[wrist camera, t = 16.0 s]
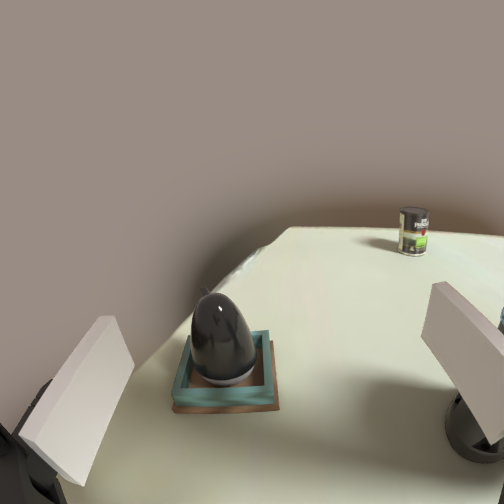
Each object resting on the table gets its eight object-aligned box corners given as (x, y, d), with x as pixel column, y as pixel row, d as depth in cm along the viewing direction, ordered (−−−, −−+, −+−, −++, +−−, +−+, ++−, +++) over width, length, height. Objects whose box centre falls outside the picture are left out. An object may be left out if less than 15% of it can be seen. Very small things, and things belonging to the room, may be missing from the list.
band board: (273, 344, 52) (271, 327, 50) (279, 410, 37) (278, 393, 35) (190, 349, 52) (185, 333, 51) (174, 412, 37) (166, 396, 36)
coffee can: (431, 253, 80) (435, 211, 76) (410, 258, 79) (413, 214, 74) (413, 243, 90) (415, 205, 85) (392, 248, 88) (393, 207, 84)
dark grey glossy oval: (244, 346, 50) (232, 272, 45) (270, 381, 41) (261, 300, 36) (191, 364, 47) (170, 289, 41) (208, 404, 38) (184, 324, 32)
